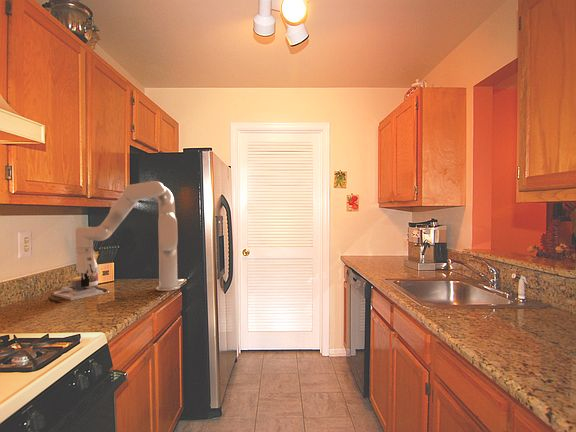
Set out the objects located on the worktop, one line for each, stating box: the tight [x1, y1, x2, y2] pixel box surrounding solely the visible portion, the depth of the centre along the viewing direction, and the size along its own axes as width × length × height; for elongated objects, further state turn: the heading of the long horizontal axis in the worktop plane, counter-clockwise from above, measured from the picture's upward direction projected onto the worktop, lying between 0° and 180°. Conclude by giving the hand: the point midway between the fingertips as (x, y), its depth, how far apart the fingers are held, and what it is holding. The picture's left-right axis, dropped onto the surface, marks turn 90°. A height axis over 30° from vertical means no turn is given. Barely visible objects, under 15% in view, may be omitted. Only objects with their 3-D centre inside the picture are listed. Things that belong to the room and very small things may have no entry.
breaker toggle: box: [71, 276, 84, 290], centre depth 165 cm, size 4×4×7 cm
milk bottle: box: [89, 251, 99, 287], centre depth 184 cm, size 8×8×20 cm
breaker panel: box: [53, 285, 104, 301], centre depth 165 cm, size 15×20×4 cm
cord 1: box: [48, 296, 63, 304], centre depth 152 cm, size 13×1×1 cm, turn 57°
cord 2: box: [93, 285, 108, 293], centre depth 173 cm, size 13×3×1 cm, turn 57°
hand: (85, 286), depth 160 cm, fingers closed
